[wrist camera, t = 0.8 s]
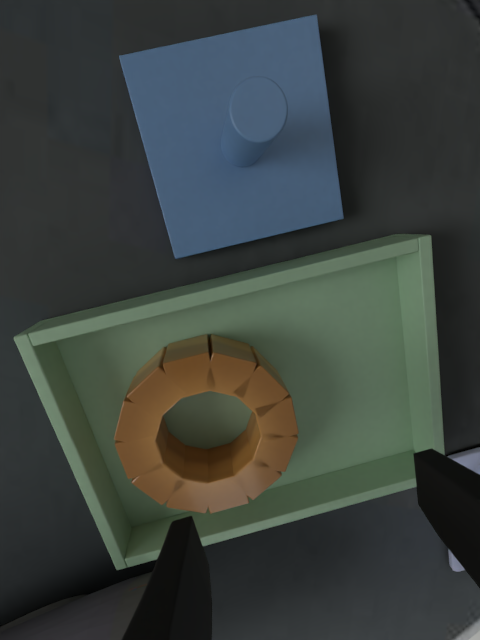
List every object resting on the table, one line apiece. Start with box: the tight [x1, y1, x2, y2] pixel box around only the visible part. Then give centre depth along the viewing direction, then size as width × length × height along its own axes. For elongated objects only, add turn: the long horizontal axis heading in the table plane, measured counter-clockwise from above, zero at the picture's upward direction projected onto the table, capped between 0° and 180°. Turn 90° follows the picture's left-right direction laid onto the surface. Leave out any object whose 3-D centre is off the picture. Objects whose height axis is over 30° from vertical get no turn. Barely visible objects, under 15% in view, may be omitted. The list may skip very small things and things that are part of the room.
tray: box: [14, 234, 445, 570], centre depth 17 cm, size 18×13×3 cm
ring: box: [114, 334, 299, 514], centre depth 17 cm, size 8×8×3 cm
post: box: [119, 15, 344, 259], centre depth 13 cm, size 8×8×6 cm
